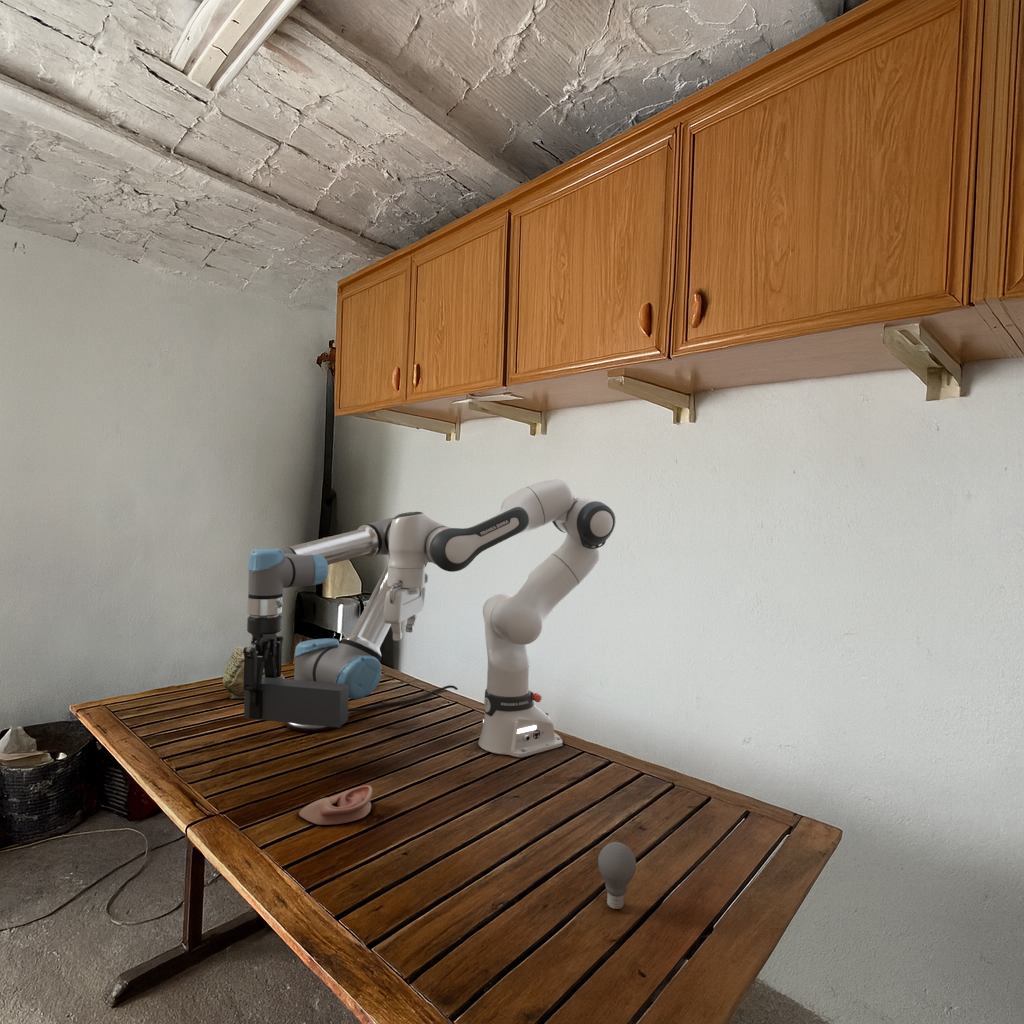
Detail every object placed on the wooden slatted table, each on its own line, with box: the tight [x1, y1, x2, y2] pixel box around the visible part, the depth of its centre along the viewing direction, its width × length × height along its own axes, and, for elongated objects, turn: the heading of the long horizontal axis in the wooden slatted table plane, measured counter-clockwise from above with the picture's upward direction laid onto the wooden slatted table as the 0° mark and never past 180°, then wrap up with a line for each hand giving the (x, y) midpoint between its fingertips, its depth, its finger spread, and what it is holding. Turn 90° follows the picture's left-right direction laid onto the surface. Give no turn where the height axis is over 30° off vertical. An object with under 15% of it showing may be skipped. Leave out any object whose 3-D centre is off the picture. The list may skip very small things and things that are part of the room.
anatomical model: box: [298, 784, 373, 826], centre depth 127 cm, size 13×4×12 cm
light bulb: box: [597, 841, 637, 910], centre depth 101 cm, size 6×6×10 cm
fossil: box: [222, 646, 286, 699], centre depth 198 cm, size 9×18×15 cm, turn 132°
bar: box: [243, 677, 350, 728], centre depth 147 cm, size 23×5×8 cm, turn 81°
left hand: (262, 713), depth 148 cm, fingers closed on bar, 5 cm apart
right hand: (403, 635), depth 153 cm, fingers open, 8 cm apart
